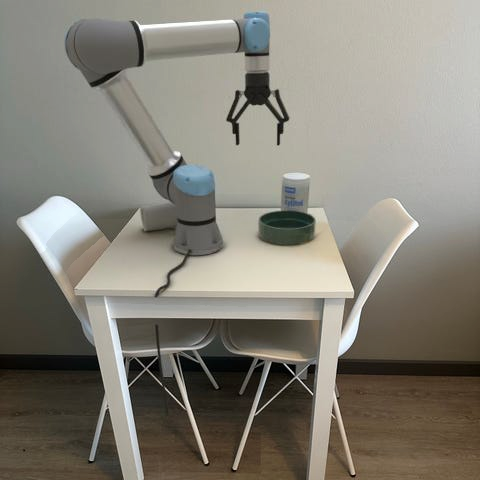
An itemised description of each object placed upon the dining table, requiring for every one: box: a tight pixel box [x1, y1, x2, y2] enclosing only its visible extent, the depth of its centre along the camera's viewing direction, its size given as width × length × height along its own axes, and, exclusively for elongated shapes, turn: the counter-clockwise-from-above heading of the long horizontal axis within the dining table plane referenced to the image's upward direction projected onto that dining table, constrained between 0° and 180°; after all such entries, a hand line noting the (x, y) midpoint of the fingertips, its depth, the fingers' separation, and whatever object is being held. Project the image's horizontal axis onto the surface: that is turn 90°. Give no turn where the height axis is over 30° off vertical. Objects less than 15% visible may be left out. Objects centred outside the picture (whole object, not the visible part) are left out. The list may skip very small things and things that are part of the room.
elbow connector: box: [139, 201, 178, 232], centre depth 160 cm, size 18×11×20 cm
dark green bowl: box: [258, 210, 317, 246], centre depth 150 cm, size 18×18×6 cm
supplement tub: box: [280, 172, 311, 214], centre depth 163 cm, size 10×10×15 cm
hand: (257, 144), depth 154 cm, fingers open, 13 cm apart
